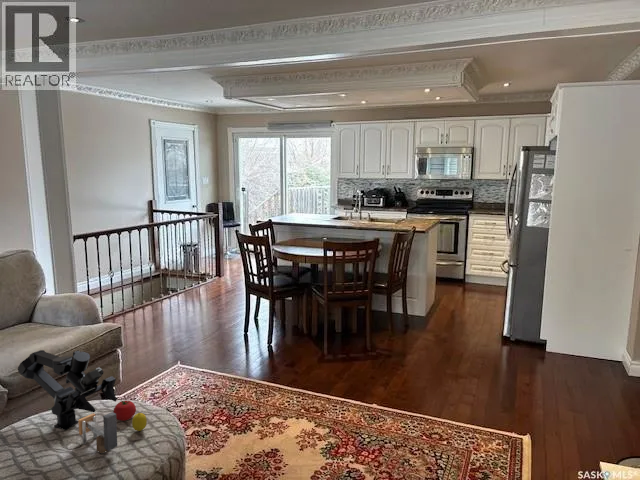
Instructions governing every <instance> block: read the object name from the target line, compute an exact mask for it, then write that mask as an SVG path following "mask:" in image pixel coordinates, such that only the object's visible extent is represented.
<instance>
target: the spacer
mask: <svg viewBox="0 0 640 480" xmlns="http://www.w3.org/2000/svg"><path fill="white" fill-rule="evenodd" d="M93 416H96V414H95V412H92V413H91V414H88V415H86V416H84V417H82V418H80V419H78V420H77V421H78V435H80V436H83V434H82V421H85V422H86V421H89V420H92V421H93ZM90 431H91V430H90V429H88V428H87V427H86V434H87V433H88V432H90ZM91 432H92V431H91Z"/></svg>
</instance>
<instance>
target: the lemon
mask: <svg viewBox="0 0 640 480" xmlns="http://www.w3.org/2000/svg"><path fill="white" fill-rule="evenodd" d="M147 422H148V420H147V416H146V415H145V414H144V413H142V412H138V413H135V414H134V416H133V417H132V420H131V426H132V428H133V429H134V431H137V432H139V431H140V432H142V431H144V429H145V428H146V427H147Z"/></svg>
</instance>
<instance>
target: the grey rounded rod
mask: <svg viewBox="0 0 640 480" xmlns="http://www.w3.org/2000/svg"><path fill="white" fill-rule="evenodd" d="M93 422H95V423H97V416H96V415H95V416H93ZM92 434H93V435H92V437H93V439H94V440H96V437H98V434H96V433H95V432H93V431H92ZM82 444H83V445H86V444H87V433H86V422H85V421H82Z"/></svg>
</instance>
